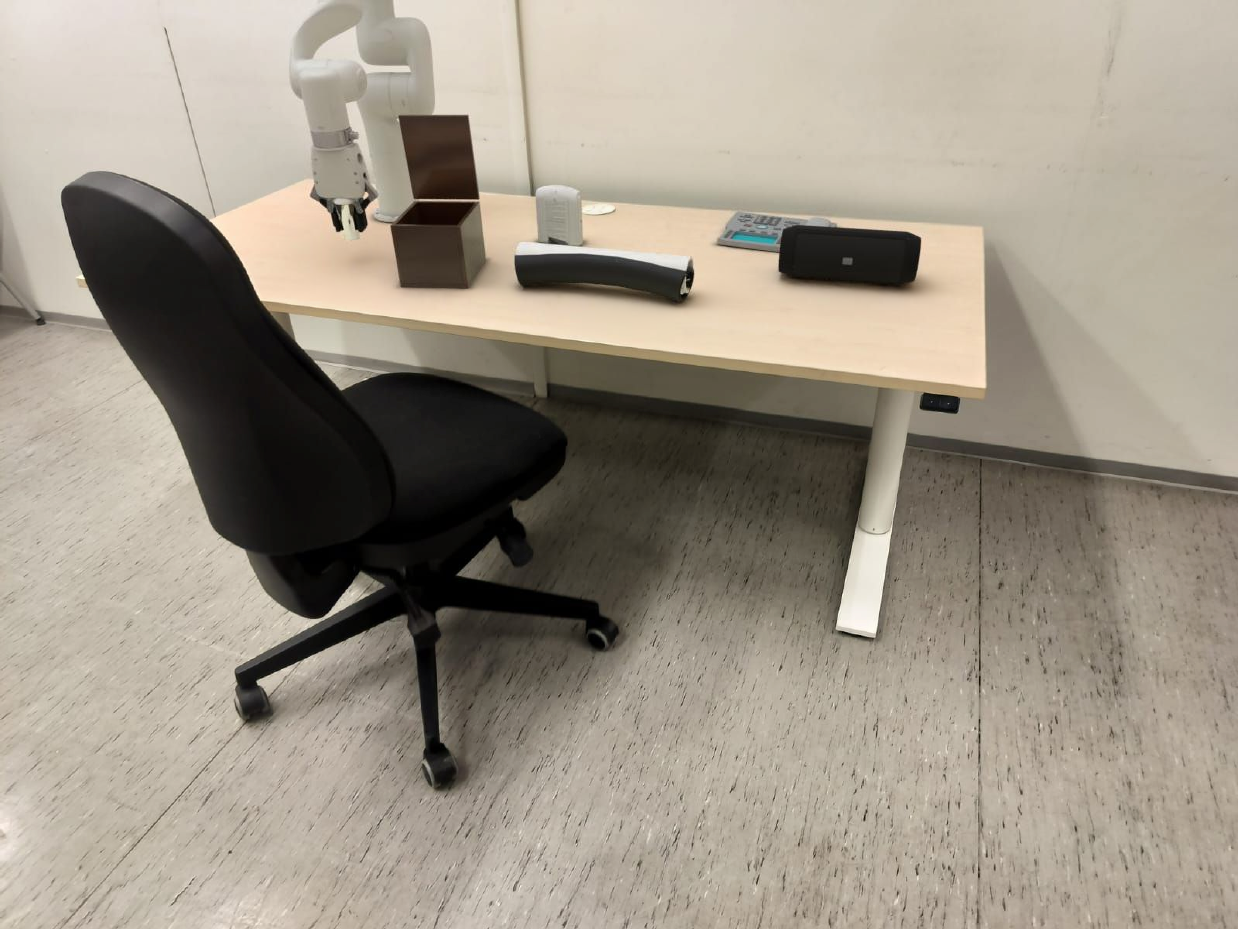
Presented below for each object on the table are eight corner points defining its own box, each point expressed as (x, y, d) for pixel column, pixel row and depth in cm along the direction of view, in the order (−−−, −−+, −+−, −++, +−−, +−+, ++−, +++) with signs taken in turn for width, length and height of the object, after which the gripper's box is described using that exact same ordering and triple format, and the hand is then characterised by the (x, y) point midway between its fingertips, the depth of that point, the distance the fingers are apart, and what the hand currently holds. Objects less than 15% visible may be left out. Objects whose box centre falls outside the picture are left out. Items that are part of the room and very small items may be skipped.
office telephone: (838, 216, 190) (820, 245, 175) (836, 228, 192) (819, 258, 176) (737, 205, 198) (712, 232, 182) (736, 216, 199) (711, 244, 184)
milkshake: (370, 234, 177) (362, 187, 172) (353, 243, 174) (344, 195, 168) (353, 231, 179) (344, 183, 173) (336, 240, 175) (326, 191, 169)
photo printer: (586, 241, 187) (583, 184, 181) (579, 247, 184) (576, 190, 177) (542, 237, 190) (538, 181, 183) (535, 243, 187) (531, 186, 180)
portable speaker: (776, 284, 165) (780, 233, 159) (781, 265, 173) (785, 217, 167) (913, 294, 159) (923, 242, 154) (912, 275, 167) (921, 225, 162)
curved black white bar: (691, 316, 161) (705, 254, 165) (685, 291, 152) (699, 226, 156) (520, 298, 170) (537, 240, 174) (505, 273, 161) (523, 212, 165)
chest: (468, 288, 166) (460, 226, 159) (400, 287, 168) (390, 225, 161) (486, 259, 179) (479, 201, 172) (423, 258, 180) (414, 200, 174)
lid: (467, 115, 161) (468, 114, 162) (398, 115, 163) (399, 114, 163) (478, 199, 172) (479, 198, 172) (413, 199, 173) (414, 197, 174)
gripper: (380, 132, 167) (396, 224, 178) (298, 132, 168) (319, 223, 179) (367, 143, 161) (385, 237, 172) (282, 143, 162) (305, 236, 173)
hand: (351, 229), depth 175 cm, fingers closed on milkshake, 4 cm apart
